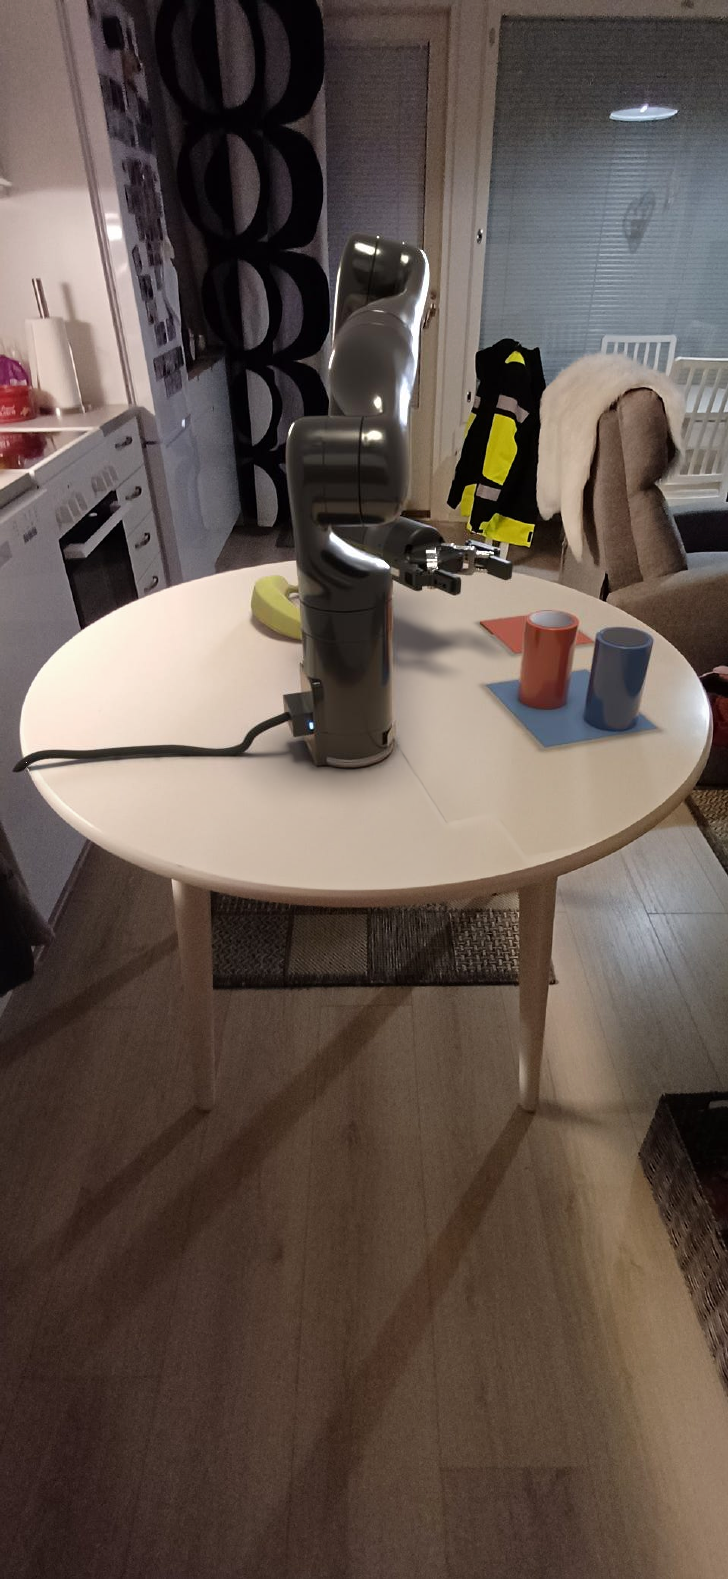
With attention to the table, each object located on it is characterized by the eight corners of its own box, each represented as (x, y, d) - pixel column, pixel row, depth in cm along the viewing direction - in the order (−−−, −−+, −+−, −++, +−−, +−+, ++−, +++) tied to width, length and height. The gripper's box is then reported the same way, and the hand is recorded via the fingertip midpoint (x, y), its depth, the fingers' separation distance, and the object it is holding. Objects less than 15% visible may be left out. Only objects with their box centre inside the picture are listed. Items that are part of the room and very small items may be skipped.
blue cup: (599, 735, 86) (614, 651, 80) (573, 710, 91) (585, 630, 85) (647, 726, 87) (665, 643, 82) (618, 703, 92) (633, 623, 87)
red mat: (514, 655, 105) (515, 653, 105) (479, 623, 114) (480, 621, 114) (594, 644, 107) (594, 642, 107) (553, 613, 117) (553, 611, 117)
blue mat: (544, 749, 84) (544, 747, 84) (485, 686, 97) (485, 684, 97) (657, 730, 87) (657, 727, 87) (585, 671, 100) (586, 669, 100)
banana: (234, 588, 107) (275, 561, 125) (227, 625, 110) (268, 593, 127) (327, 618, 107) (355, 586, 124) (317, 655, 109) (346, 619, 127)
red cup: (530, 713, 91) (540, 632, 85) (509, 690, 95) (516, 613, 90) (576, 705, 92) (589, 625, 86) (553, 684, 97) (563, 607, 91)
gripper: (360, 529, 100) (442, 561, 89) (443, 510, 107) (529, 537, 96) (361, 586, 104) (439, 622, 93) (441, 564, 111) (523, 596, 100)
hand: (485, 579), depth 95 cm, fingers open, 8 cm apart
